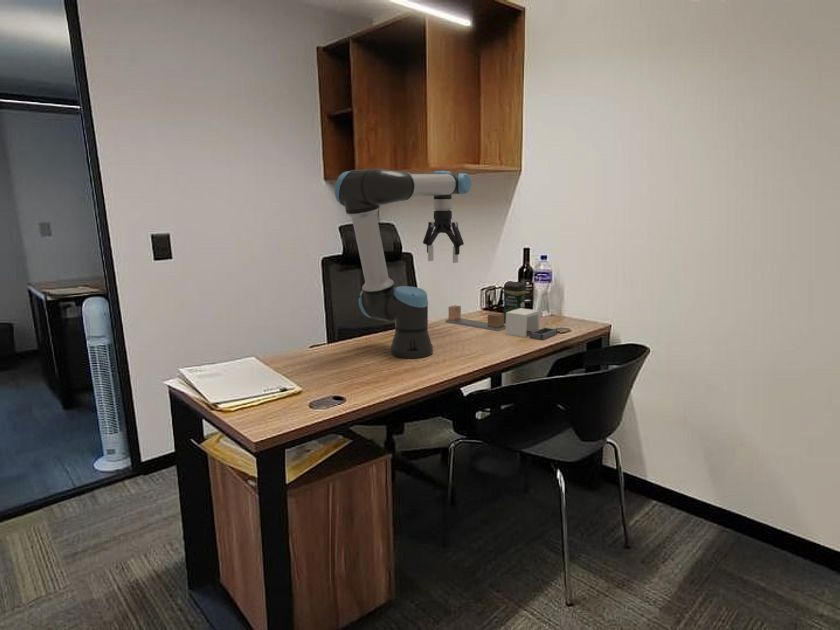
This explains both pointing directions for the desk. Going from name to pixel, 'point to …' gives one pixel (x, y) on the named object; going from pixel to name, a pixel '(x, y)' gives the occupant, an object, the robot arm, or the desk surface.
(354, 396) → the desk surface
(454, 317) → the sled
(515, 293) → the coffee jar
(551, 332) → the tray
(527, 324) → the tunnel
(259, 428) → the desk surface
